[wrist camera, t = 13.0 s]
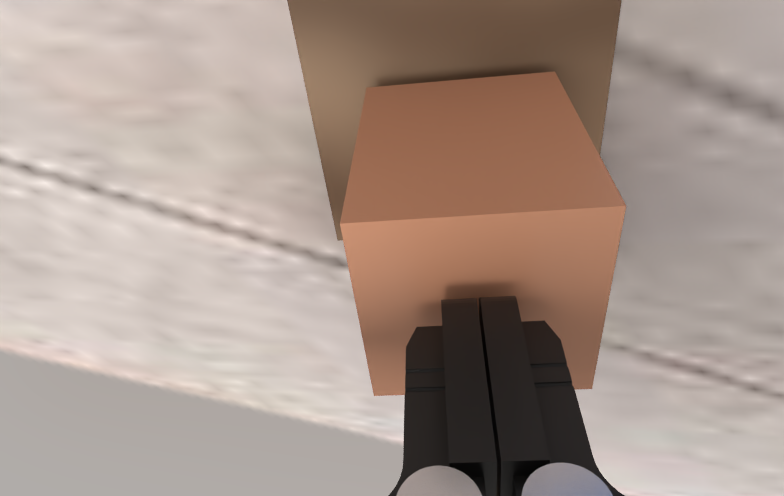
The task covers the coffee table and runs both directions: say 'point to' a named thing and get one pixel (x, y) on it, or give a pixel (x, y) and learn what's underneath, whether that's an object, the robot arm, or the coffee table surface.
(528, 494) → the robot arm
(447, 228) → the salmon pink cube
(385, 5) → the board
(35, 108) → the coffee table surface
